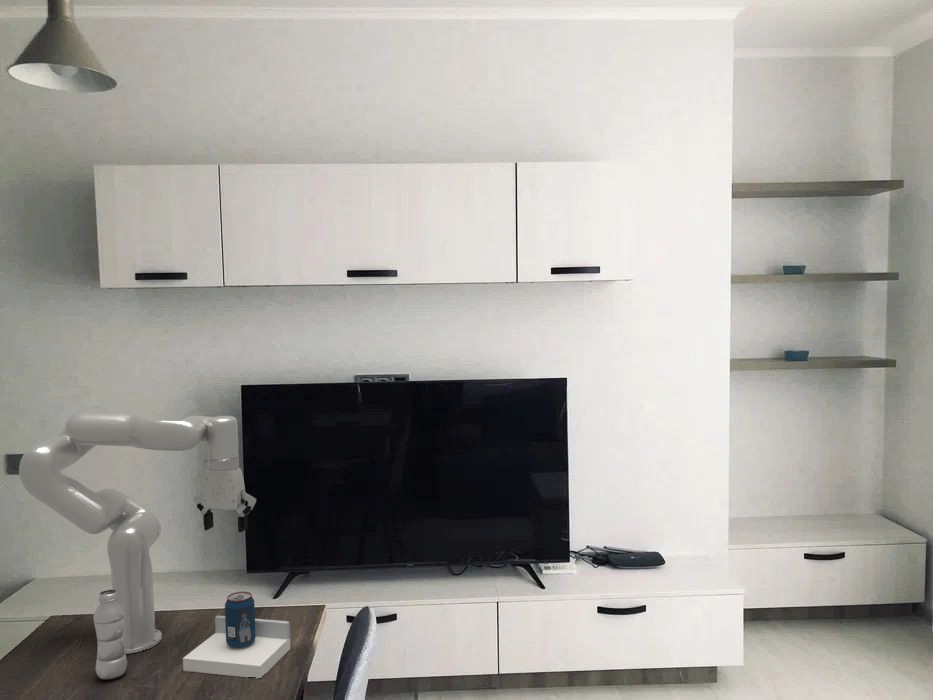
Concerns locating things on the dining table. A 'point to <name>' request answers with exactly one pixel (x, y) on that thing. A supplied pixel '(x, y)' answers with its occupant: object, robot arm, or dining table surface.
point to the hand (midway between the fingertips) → (225, 529)
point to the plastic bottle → (109, 636)
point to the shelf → (241, 651)
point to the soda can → (240, 620)
